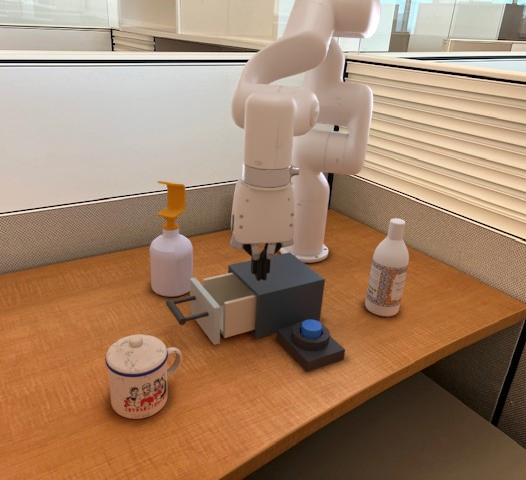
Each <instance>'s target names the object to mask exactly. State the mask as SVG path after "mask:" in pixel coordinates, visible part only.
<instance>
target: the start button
mask: <svg viewBox="0 0 526 480" xmlns="http://www.w3.org/2000/svg"><path fill="white" fill-rule="evenodd" d="M321 324H322V323H321V322H320V321H316V320H311V319H309V320H305V321H303V322H302V327H301V334H302V335H303V336H305V337H307V338H314V339H315V338H319V337H320V336H321V332H322V325H321Z"/></svg>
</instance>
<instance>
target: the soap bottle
mask: <svg viewBox="0 0 526 480" xmlns="http://www.w3.org/2000/svg"><path fill="white" fill-rule="evenodd" d="M157 183H158V184H160V185H161V184H162V185H166V189H167V190H166V191H167V194H166V195H167V204H166V207H164V208H163V209H161V210H159V212H157V217H161V218H163V219H164V220H166V222H164V223H163V224H162V234H160V235H158V236H156V237H155V238H154V239H153V240H152V241H151V243H150V246H149V264H150V287H151V289H152V291H153V292H154V293H155V294H156V295H160V296H162V297H168V298H169V297H180V296H183V295H185V294H187V293H190V279H191V278H194V246H193V244H192V241H191V240H190V239H189V238H187V237H186V236H185V235H183V234H180V225H179V223H178V222H175V220H177V219H178V217H179V216H181V215H182V214H183V213H185V211H186V205H187V204H186V201H187V200H186V198H187V197H186V186H185V184H183V183H178V182H172V181H166V180H158V181H157Z"/></svg>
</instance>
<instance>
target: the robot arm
mask: <svg viewBox="0 0 526 480" xmlns="http://www.w3.org/2000/svg"><path fill="white" fill-rule="evenodd" d="M380 18H381V0H294V3H293V6H292V8H291V11H290V14H289V16H288V19H287V23H286V25H285V28H284V30H283V33H282V36H281V37H278V38H276V39H275V40H273V41H271V42H270V43H268V44H267V45H265V46H264V47H263V48H261V49H260V50H258V51H256V53H254V54H253V55H252V56H251V57H250V58H249V59H248V61H247V62H246V63H245V64H244V66H243V68H242V69H241V72H240V75H239V77H238V80H237V82H236V85H235V87H234V90H233V93H232V98H231V103H230V114H231V115H230V116H231V118H232V121H233V122H234V124H235V125H236V126H237V127H239V128H240V129H243V149H242V174H241V175H242V178H240V179H237V181H236V183H235V188H234V193H233V199H232V206H231V215H230V216H231V218H230V231H231V233H232V234H231V236H230V237H231V238H230V241H229V244H230V247H231V248H232V249H236V250H243V251H244V252H245V253H246V254H248V255H249V256H250V257H251V258H250V260H251V273H252V274H254V275H255V277H256V280H257V281H260V280H261V279H262V280H266V279H267V273H270V261H271V259H272V258H273V256H274V255H276V254H277V253H278V252H279V254H284V253H289V252H290V253H291V254H292V255H294V256H295V257H296V258H298V259H299V260H300V261H302V262H303V263H304V264H306V263H307V264H311V263H318V262H321V261H324V260H326V258H328V256H329V248H328V247H327V245H325V244H324V240H325V233H326V226H327V218H328V217H327V216H328V209H329V200H330V184H329V182H328V179H327V178H326V176H325V174H324V173H328V174H329V173H330V174H335V175H336V174H337V175H344V176H355V175H358V174H359V173H361V171H362V170H363V168H364V165H365V161H366V156H367V149H368V143H369V138H370V130H371V129H370V128H371V123H372V116H373V110H374V109H373V108H374V94H373V90H372V89H371V87H370V86H369V85H367V84H364V83H361V82H349V81H348V82H347V81H344V79H343V78H344V69H345V63H346V58H345V54H344V52H343V50H342V48H341V46H340V44H339V42H338V41H337V40H336V38H344V39H345V38H346V39H369V38H371V37H372V36H373V35H374V34H375V33H376V30H377V28H378V25H379V23H380ZM302 73H304V78H303V86H302V87H298V86H289V85H288V86H286V85H279V84H272V83H274V82H276V81H278V80H281V79H286V78H289V77H292V76H296V75H300V74H302ZM317 124H320V125H329V126H330V125H331V126H337V127H338V126H339V127H345V128H346V129H347V130H348V132H344V131H335V130H327V129H319V128H314V126H316V125H317ZM259 244H261V245H262V244H263V247H262V250H261V251H260V245H259Z"/></svg>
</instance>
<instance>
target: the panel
mask: <svg viewBox="0 0 526 480" xmlns="http://www.w3.org/2000/svg"><path fill="white" fill-rule="evenodd" d="M302 322H303V321H302ZM302 322H299V323H297V324H296V325H293V326H290V327H286V328H283V329H279V330H277V333H276V337H275V340H276V341H277V342H278V343H279V344H280V346H282V348H283V349H285V351H286V352H287V353H288V354H289V355H290V356H291V357H292V358H293V360H295V361H296V362H297V364H299V366H300V367H301V368H302V369H303V370H304V371H305V372H306V373H308V372H311V371H315V370H316V369H317V370H318V369H320V368H322V367H325V366H328V365H331V364H334V363H337V362H341V361H343V360H344V359H345V354H346V348H344V347H343V346H342V345H341V344H340V343H338V341H337V340H335V339H334V337H332V336H331V334H330V330H329V328H328V327H326V325H325V324H323V323H321V325H322V332H321V336H320V337H319V338H315V339H314V338H307V337H305V336H303V335H302V334H301V327H302Z"/></svg>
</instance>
